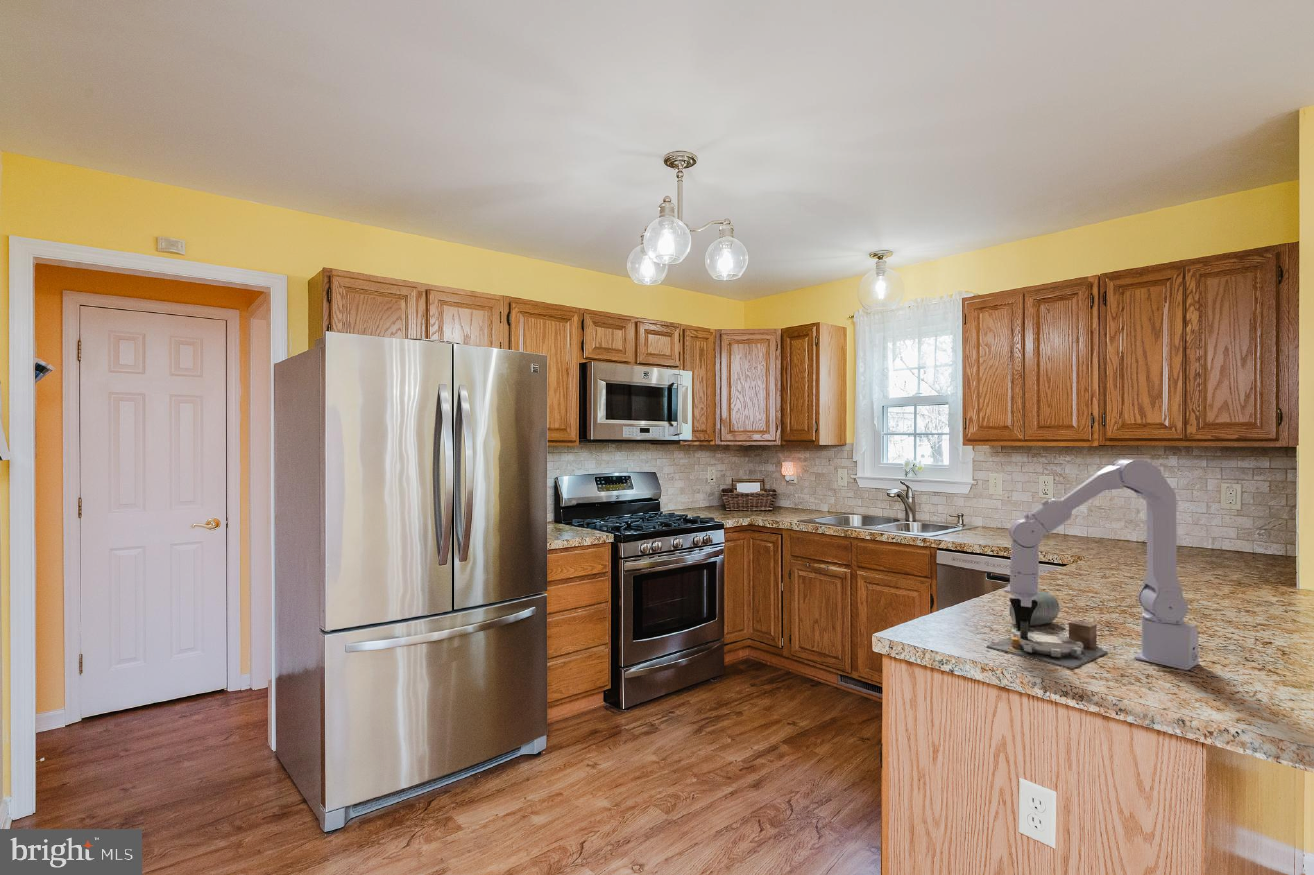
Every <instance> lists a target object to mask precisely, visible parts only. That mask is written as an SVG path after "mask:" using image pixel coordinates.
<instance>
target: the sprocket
mask: <svg viewBox="0 0 1314 875" xmlns="http://www.w3.org/2000/svg"><path fill="white" fill-rule="evenodd" d="M1013 636H1014V637H1013ZM1013 636H1010V637H1011V644H1012V645H1016V646H1019V647H1021V648H1023V649H1024V651H1027V652H1031V653H1032V652H1036V653H1040V654H1046V655H1051V656H1055V657H1061V656H1069V655H1074V656H1079V655H1081V651H1083V644H1082V643H1081V642H1075V641H1073V640H1071V639H1069V636H1066V635H1061V634H1060V635H1057V634H1052V633H1047V632H1046V633H1044V632H1042V631H1033V632H1031V631H1029V630H1028V621H1026V620H1020V631H1017V632H1013Z"/></svg>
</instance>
